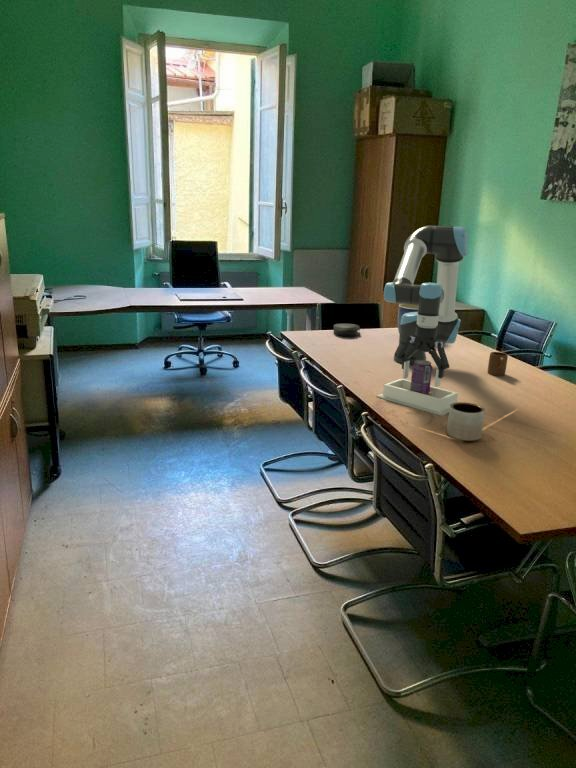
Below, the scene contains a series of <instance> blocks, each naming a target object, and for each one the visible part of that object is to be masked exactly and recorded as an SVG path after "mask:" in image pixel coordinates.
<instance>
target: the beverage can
mask: <svg viewBox="0 0 576 768" xmlns="http://www.w3.org/2000/svg"><path fill="white" fill-rule="evenodd" d="M432 371H433V366H432V362H431V361H429V360H427V359H426V360H416V361H414V364H413V365H412V371H411V378H410V379H411V380H410V381H411V387H410V391H414V392H417V393H421V394H427V393H429V391H430V386H431V381H432Z"/></svg>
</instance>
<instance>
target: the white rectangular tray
mask: <svg viewBox="0 0 576 768" xmlns="http://www.w3.org/2000/svg"><path fill="white" fill-rule="evenodd" d="M410 387H411V380H408V379H407V378H405V379H403V378H400V379H395V380H392V381H390V382H388V383H384V384H383V390H382V393H379V394H377V395H375V397H376V398H377V399H378V398H379V399H382V400H386V401H387V402H388V401H389V402H391V403H395V404H399V405H402V406H406V407H409V408H413V409H416V410H420V411H423V412H427V413H429V414H430V413H431V414H433V415H438V416H440V417H443V416H445V415H447V414H449V410H450V405H451V404H453V403H458V402H457V401H458V396H459V393H458V392H457V391H456V392H455V391H451V390H448V389H445V388H440V387H434V386H432V385H430V391H429V393H427V394H421V393H417V392H414V391H410Z"/></svg>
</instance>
